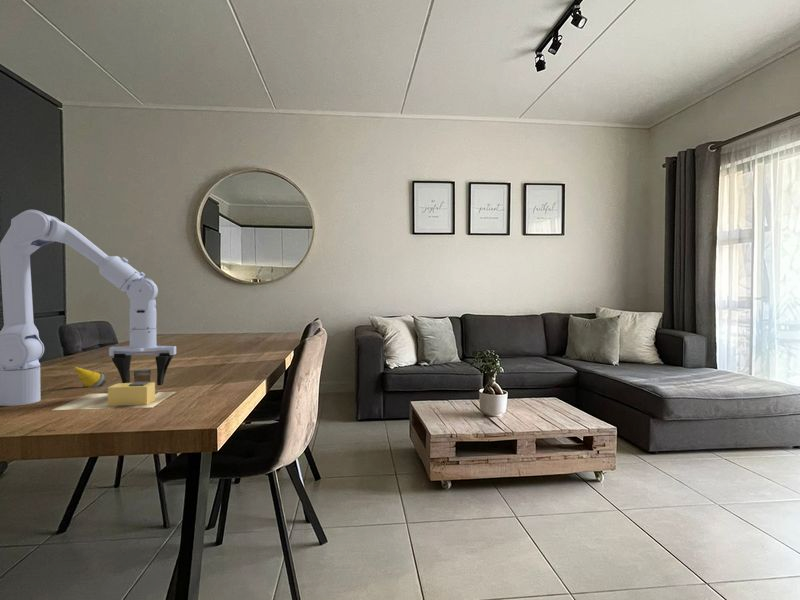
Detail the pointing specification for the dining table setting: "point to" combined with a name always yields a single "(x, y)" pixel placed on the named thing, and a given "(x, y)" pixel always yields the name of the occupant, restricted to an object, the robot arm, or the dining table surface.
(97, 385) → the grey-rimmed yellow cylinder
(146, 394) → the stud finder
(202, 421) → the dining table surface
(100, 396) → the panel
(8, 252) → the robot arm
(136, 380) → the brown cylindrical piece
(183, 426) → the dining table surface
